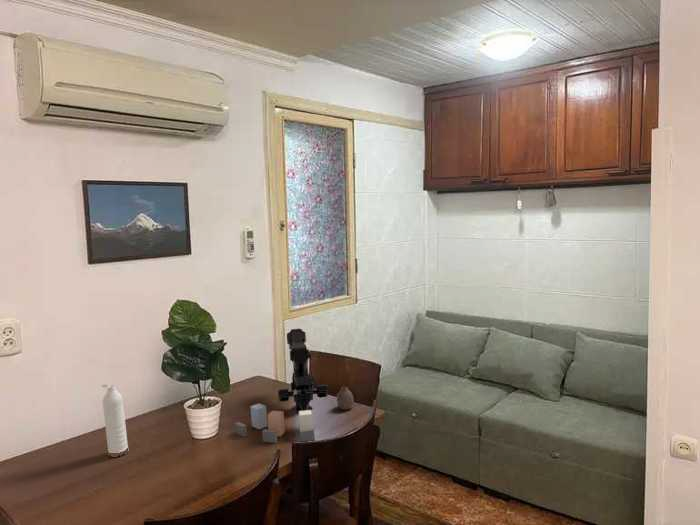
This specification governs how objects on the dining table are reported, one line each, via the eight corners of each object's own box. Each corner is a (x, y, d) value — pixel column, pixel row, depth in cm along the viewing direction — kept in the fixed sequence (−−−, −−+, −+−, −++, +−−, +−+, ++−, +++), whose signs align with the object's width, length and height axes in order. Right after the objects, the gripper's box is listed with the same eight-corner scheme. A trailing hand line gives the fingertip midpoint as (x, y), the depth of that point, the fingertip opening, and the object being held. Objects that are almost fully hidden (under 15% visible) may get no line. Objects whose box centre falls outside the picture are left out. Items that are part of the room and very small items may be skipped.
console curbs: (230, 438, 196) (229, 428, 196) (237, 431, 201) (236, 421, 201) (310, 446, 186) (309, 435, 186) (316, 439, 192) (315, 428, 191)
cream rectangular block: (300, 431, 198) (298, 411, 197) (312, 430, 199) (310, 409, 198) (300, 436, 194) (299, 415, 193) (313, 434, 195) (311, 414, 194)
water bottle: (131, 452, 189) (124, 385, 186) (113, 460, 184) (105, 390, 181) (120, 446, 195) (113, 380, 192) (102, 452, 190) (95, 385, 187)
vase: (354, 404, 222) (353, 384, 221) (353, 411, 215) (352, 390, 214) (338, 404, 222) (337, 384, 221) (336, 411, 216) (335, 390, 215)
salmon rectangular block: (273, 430, 200) (272, 410, 199) (284, 431, 199) (283, 411, 198) (269, 435, 196) (267, 414, 195) (280, 436, 195) (278, 415, 194)
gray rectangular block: (260, 422, 208) (258, 403, 207) (267, 425, 205) (265, 406, 204) (252, 426, 205) (250, 406, 204) (259, 429, 202) (257, 409, 201)
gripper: (276, 369, 200) (278, 408, 190) (325, 364, 202) (330, 402, 193) (277, 382, 208) (280, 420, 199) (324, 377, 211) (329, 414, 202)
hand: (305, 414), depth 198 cm, fingers closed, pressing on cream rectangular block
